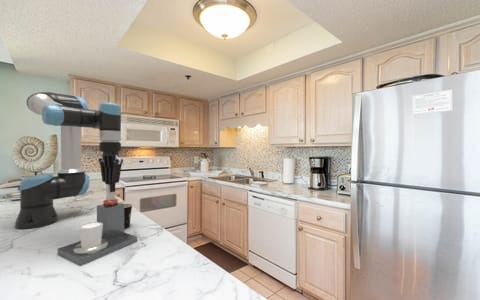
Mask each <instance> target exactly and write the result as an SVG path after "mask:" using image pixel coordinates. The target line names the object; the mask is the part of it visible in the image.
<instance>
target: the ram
mask: <svg viewBox="0 0 480 300" xmlns="http://www.w3.org/2000/svg"><path fill="white" fill-rule="evenodd" d="M118 203H119V200H118V198H115V199H114V200H109V201H108V200H106V199H104V200H103V203H102V204H103V205H105V206H113V205H115V204H118Z"/></svg>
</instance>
